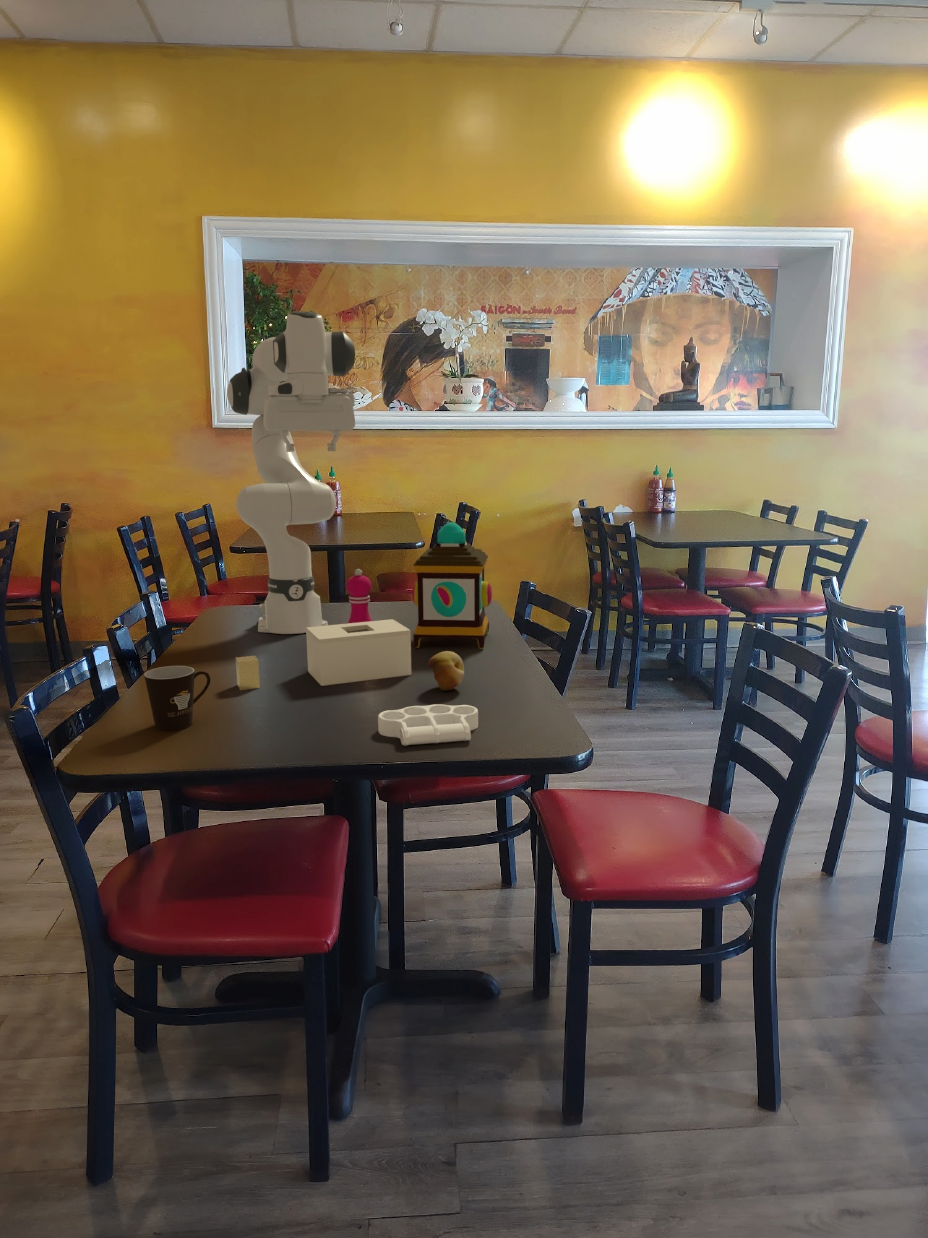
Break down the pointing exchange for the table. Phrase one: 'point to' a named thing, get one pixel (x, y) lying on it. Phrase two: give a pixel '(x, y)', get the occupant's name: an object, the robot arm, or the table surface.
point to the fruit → (447, 669)
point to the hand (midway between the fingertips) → (311, 451)
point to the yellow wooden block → (247, 672)
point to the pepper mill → (359, 597)
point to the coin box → (358, 651)
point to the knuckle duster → (429, 723)
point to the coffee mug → (173, 696)
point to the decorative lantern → (451, 589)
